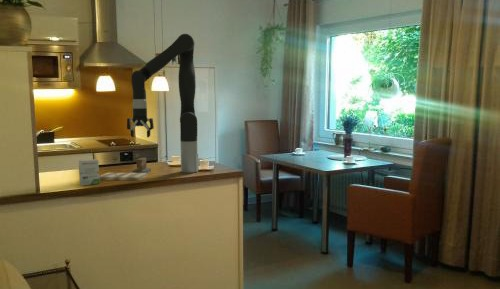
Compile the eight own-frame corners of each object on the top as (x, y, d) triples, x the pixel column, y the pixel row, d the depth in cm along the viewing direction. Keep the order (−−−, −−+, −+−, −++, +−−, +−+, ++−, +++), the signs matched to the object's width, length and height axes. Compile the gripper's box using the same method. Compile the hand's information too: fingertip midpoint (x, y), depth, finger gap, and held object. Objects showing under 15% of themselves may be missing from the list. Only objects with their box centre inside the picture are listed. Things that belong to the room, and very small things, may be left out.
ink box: (97, 182, 223) (96, 158, 221) (99, 183, 219) (98, 160, 217) (79, 183, 219) (78, 160, 217) (81, 185, 214) (79, 161, 213)
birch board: (147, 175, 239) (147, 172, 239) (139, 180, 227) (139, 177, 226) (107, 175, 241) (107, 172, 241) (97, 180, 228) (97, 177, 228)
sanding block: (150, 171, 255) (150, 157, 254) (145, 174, 244) (144, 160, 243) (138, 171, 255) (138, 157, 254) (132, 174, 244) (131, 160, 243)
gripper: (154, 107, 248) (155, 136, 250) (129, 107, 249) (130, 136, 251) (150, 107, 241) (151, 137, 243) (124, 107, 242) (125, 137, 244)
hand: (140, 137), depth 247 cm, fingers open, 8 cm apart
